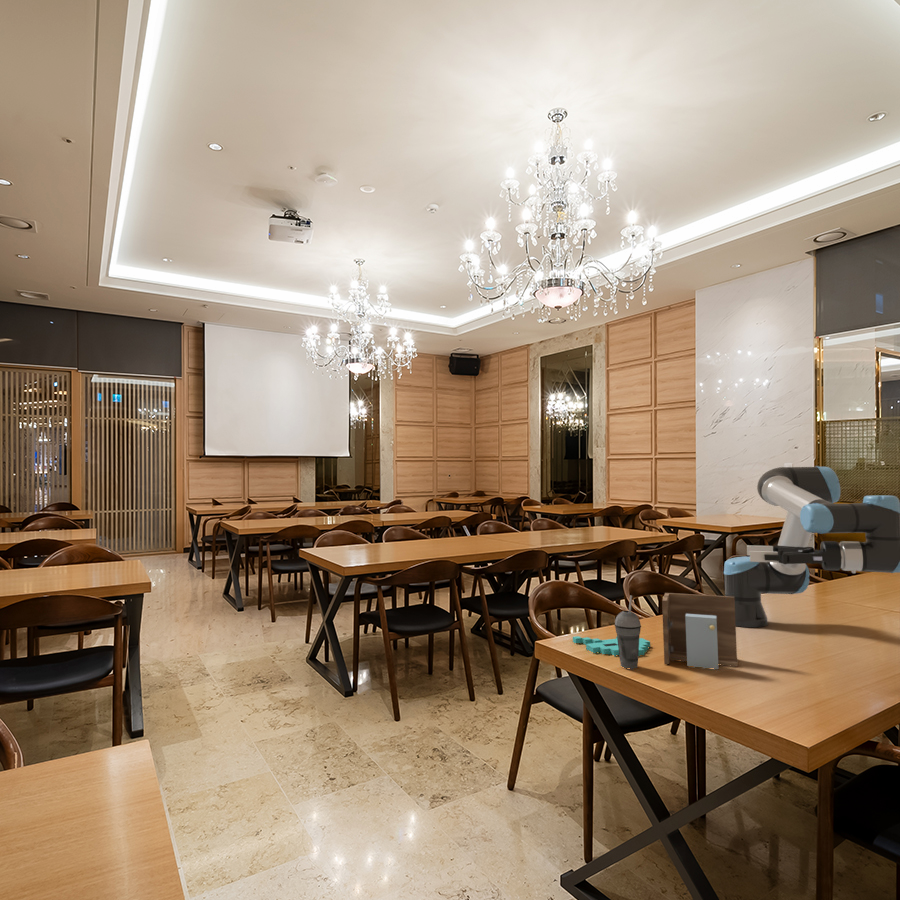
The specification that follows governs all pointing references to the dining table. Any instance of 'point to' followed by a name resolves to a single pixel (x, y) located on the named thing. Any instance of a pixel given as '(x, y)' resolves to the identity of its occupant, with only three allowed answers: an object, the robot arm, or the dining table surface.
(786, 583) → the robot arm
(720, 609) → the cabinet
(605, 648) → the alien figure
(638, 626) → the beverage cup
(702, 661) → the door
